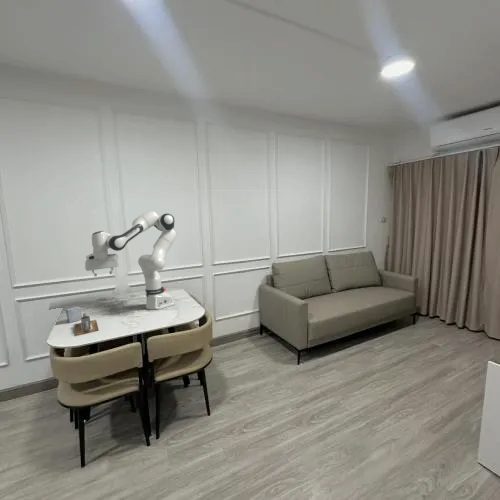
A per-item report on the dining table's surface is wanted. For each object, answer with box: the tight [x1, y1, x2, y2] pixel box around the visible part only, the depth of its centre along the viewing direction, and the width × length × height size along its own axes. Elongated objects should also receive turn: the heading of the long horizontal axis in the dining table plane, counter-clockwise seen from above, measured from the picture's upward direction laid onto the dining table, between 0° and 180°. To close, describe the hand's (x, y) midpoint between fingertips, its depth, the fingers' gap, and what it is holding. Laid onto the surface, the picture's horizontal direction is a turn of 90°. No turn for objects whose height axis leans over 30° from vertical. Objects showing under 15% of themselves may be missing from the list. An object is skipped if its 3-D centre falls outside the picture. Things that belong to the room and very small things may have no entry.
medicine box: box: [65, 306, 83, 324], centre depth 190 cm, size 8×4×9 cm, turn 141°
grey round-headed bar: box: [80, 315, 91, 331], centre depth 177 cm, size 5×12×5 cm, turn 32°
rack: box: [74, 312, 99, 337], centre depth 177 cm, size 12×19×7 cm, turn 32°
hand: (103, 275), depth 193 cm, fingers open, 8 cm apart
